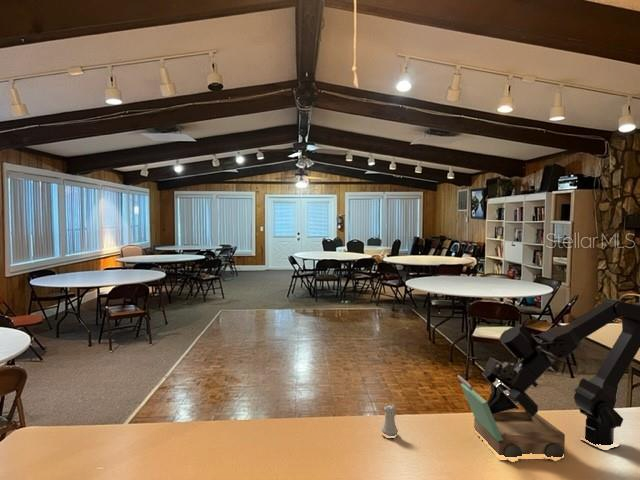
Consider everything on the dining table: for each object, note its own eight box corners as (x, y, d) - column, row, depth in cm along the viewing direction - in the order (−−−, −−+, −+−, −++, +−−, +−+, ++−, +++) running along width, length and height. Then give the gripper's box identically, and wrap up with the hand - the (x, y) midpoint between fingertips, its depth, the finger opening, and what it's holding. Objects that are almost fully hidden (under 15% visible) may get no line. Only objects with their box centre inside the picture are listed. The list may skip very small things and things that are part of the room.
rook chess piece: (385, 440, 109) (385, 409, 109) (378, 432, 113) (378, 403, 113) (401, 438, 110) (401, 408, 110) (393, 430, 114) (394, 401, 114)
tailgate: (478, 416, 113) (459, 370, 113) (502, 439, 100) (480, 387, 100) (472, 418, 113) (453, 372, 113) (495, 442, 100) (473, 390, 100)
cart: (529, 430, 116) (529, 408, 116) (567, 461, 100) (567, 436, 100) (472, 430, 115) (472, 408, 115) (501, 462, 99) (501, 437, 99)
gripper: (489, 339, 116) (449, 379, 115) (526, 359, 97) (479, 406, 97) (516, 367, 117) (476, 407, 116) (558, 392, 98) (511, 440, 97)
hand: (484, 414), depth 107 cm, fingers closed, pressing on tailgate
